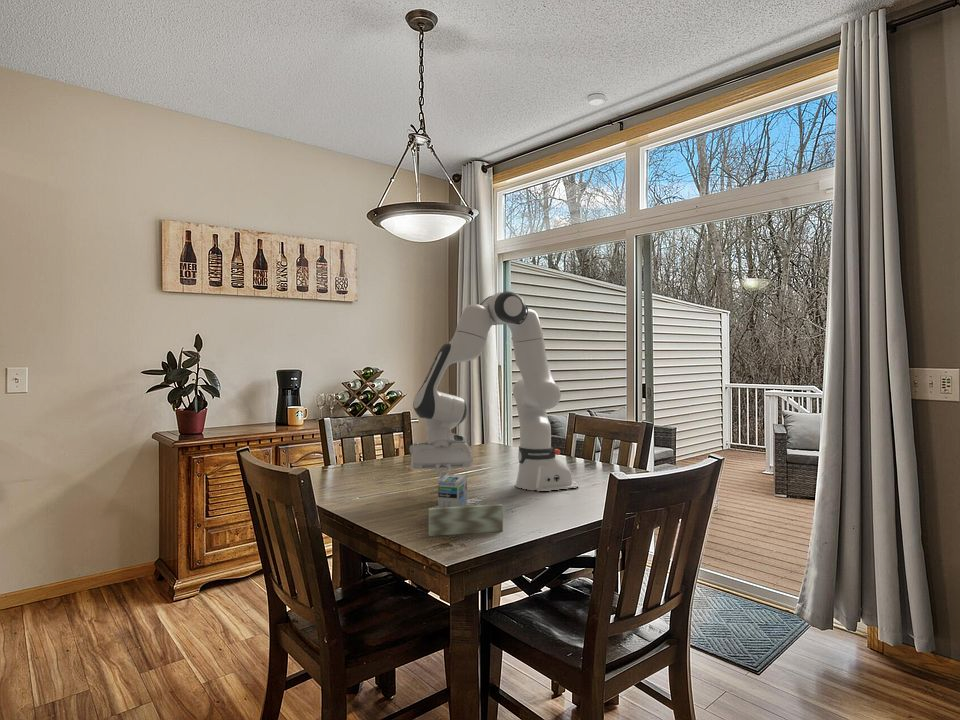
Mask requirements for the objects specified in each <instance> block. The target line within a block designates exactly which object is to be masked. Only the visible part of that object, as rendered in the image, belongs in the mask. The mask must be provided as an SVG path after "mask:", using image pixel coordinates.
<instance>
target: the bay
mask: <svg viewBox="0 0 960 720" xmlns="http://www.w3.org/2000/svg"><path fill="white" fill-rule="evenodd" d="M503 517H504V505H503V504H502V503H496V504H493V503H492V504H481V503H480V502H477V503H474V505H467V506H458V507H440V508H439V507H438V505H433V507H428V536H429V537H436V536H438V537H439V536H452V535H453V536H454V535H467V534H481V533H482V534H483V533H495V532H498V533H499V532H503V531H504V529H503V527H504V526H503V525H504V523H503V522H504V520H503V519H504V518H503Z"/></svg>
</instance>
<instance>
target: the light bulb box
mask: <svg viewBox="0 0 960 720" xmlns="http://www.w3.org/2000/svg"><path fill="white" fill-rule="evenodd" d="M437 483H438V487H437V492H438V493H437V504H438V507H439V508H440V507H458V506H468V475H467V474H460V473H459V474H456V473H449V474H446V475H445V476H444V477H443V478H441V479H438V481H437Z"/></svg>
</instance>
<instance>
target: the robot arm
mask: <svg viewBox="0 0 960 720" xmlns="http://www.w3.org/2000/svg"><path fill="white" fill-rule="evenodd" d="M499 325H500V326H501V325H507V327H508V328H509V330H510V332H511V339H512V345H513V352H514V353H513V354H514V358H515V364H516V366H517V368H518V369H519V372H520V375H521V377H522V378H521V379H518V380H517V381H516V382H515V384H514V385H513V389H512V396H513V397H514V399H515V404H516V409H517V414H518V420H519V446H518V453H517V454H518V456H517V458H518V463H519V464H518V471H517V477H516V481H515V483H514V486H515V487H516V488H519V489H521V488H522V490H526V489H527V490H526V491H534V490H537V491H536V492H539V491H549V492H551V491H550V490H558V489H566V488H574V487H578V488H579V483H578V482H576V481H575V480H573V477H572V472H571V470H570V468H569V467H568V466H567V465H566V464H565V463H563V462H562V461H561V460H560V459H558V458H557V457H556V456H560V454H561V450H560V449H558V448H554V447H553V446H552V430H551V429H552V427H551V426H552V425H551V423H550V420H549V418H548V413H547V410H551V409H553V408H555V407H556V406H557V405H558V404H559V402H560V400H561V389H560V388H559V386H558V385H557V383H556V381H555V379H554V376H553V373H552V371H551V368H550V365H549V362H548V358H547V354H546V353H547V352H546V346H545V339H544V334H543V328H542V325H541V322H540V319H539V315H538V313H537V312H536V311H535V310H534V309H530V308H528V306H527V305H526V304H525V300H524V299H523V297H522V296H521V295H520V294H518V293H517V292H514V291H501V292H497V293H495V294H492V295H489V296H488V297H486V298H485V299H484V300H482V302H481V303H480V304H477V303H472V304H469V305H467V306H466V307H465V308H464V310H463V311H462V313H461V316H460V318H459V320H458V323H457V325H456V328H455V331H454V334H453V337H452V338H451V340H450V341H449V342H448V343H445V344H443V345H442V346H441V347H440V348H439V351H438V352H437V354H436V356H435V358H434V360H433V362H432V364H431V366H430V368H429V371H428V372H427V374H426V377H425V379H424V381H423V383H422V384H421V386H420V388H419V390H418V391H417V393H416V395H415V397H414V399H413V404H412V407H413V411H415V413H416V415H417V416H418V418H420V419H424V427H425V431H426V435H425V437H426V442H420V443H419V442H414V443H413V444H411V445H409V453H410V454H411V461H410V463H411V465H410V466H411V468H413V469H414V470H424V469H425V470H426V469H433V470H434V472H435V473H436V474H437V475H438V480H440V479H441V478H443V477H444V476H445V475H446V474H450V472H451V469H460V468H461V469H463V468H465V469H466V468H471V466H472V465H473V461H474V460H473V454H472V451H471V448H470V445H468V443H467V437H466V436H464V435H460V434H456V433H454V432H452V430H453V429H455V428H457V426H459V425H461V424H462V423H463V422H464V421H465V420H466V418H467V415H468V406H467V403H466V401H465V399H464V398H463V397H460V396H458V395H453V394H449V393H445V392H442V391H439V390H438V388H439V387H438V386H439V385H440V383H441V381H442V380H443V376H444V375H445V372H446V370H447V368H448V367H449V366H450V365H453V364H455V363H462V362H463V363H464V362H465V363H466V362H470V361H473V360H476V359H477V358H479V357H480V356H481V355H482V354H483V352H484V349H485V346H486V342H487V338H488V334H489V331H490V329H491V328H492V326H499ZM441 469H445V470H446V471H442V470H441ZM558 491H559V490H558Z"/></svg>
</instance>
